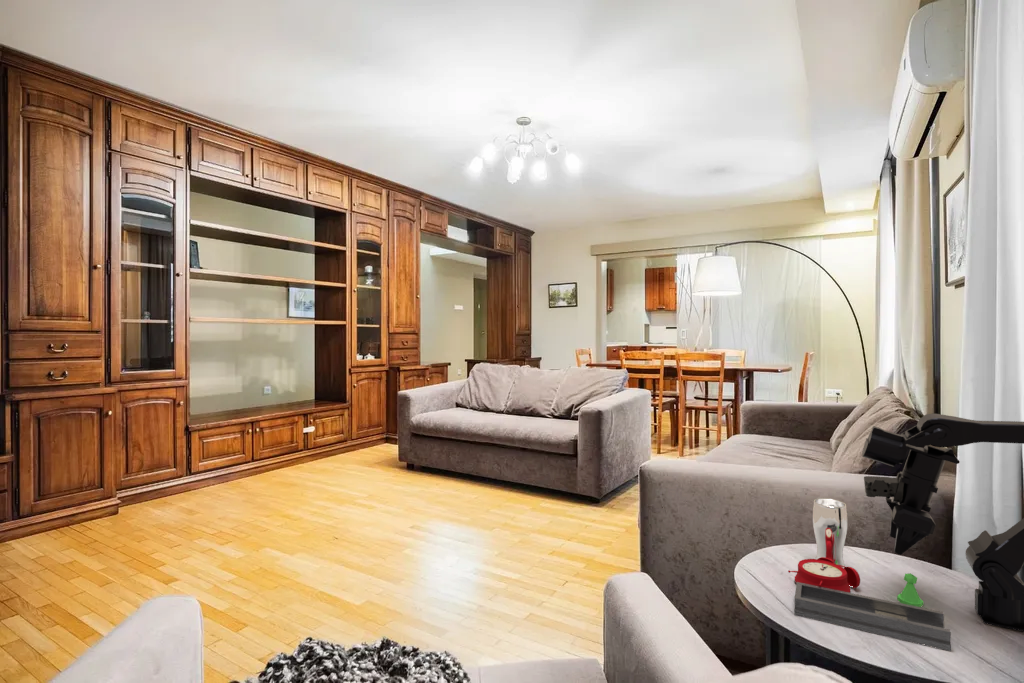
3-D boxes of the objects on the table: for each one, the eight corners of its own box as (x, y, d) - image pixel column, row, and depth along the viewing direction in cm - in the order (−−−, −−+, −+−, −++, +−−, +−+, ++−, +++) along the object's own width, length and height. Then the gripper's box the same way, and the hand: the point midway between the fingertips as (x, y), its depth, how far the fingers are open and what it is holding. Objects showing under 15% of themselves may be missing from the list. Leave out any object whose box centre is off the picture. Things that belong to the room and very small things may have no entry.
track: (941, 625, 99) (941, 609, 99) (951, 651, 91) (951, 634, 91) (796, 594, 112) (796, 580, 111) (794, 614, 104) (794, 599, 104)
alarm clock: (780, 565, 116) (823, 539, 122) (784, 592, 117) (827, 564, 123) (826, 586, 107) (870, 556, 113) (830, 614, 108) (874, 583, 114)
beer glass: (834, 575, 120) (834, 509, 119) (806, 562, 126) (805, 500, 126) (854, 568, 122) (854, 504, 122) (826, 557, 129) (825, 496, 128)
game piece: (896, 595, 111) (896, 566, 110) (921, 600, 108) (921, 571, 108) (898, 604, 107) (898, 575, 107) (925, 610, 105) (925, 580, 105)
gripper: (870, 450, 118) (848, 514, 121) (876, 471, 102) (851, 544, 105) (931, 469, 113) (907, 535, 115) (948, 494, 97) (919, 570, 99)
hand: (895, 545), depth 109 cm, fingers open, 9 cm apart
